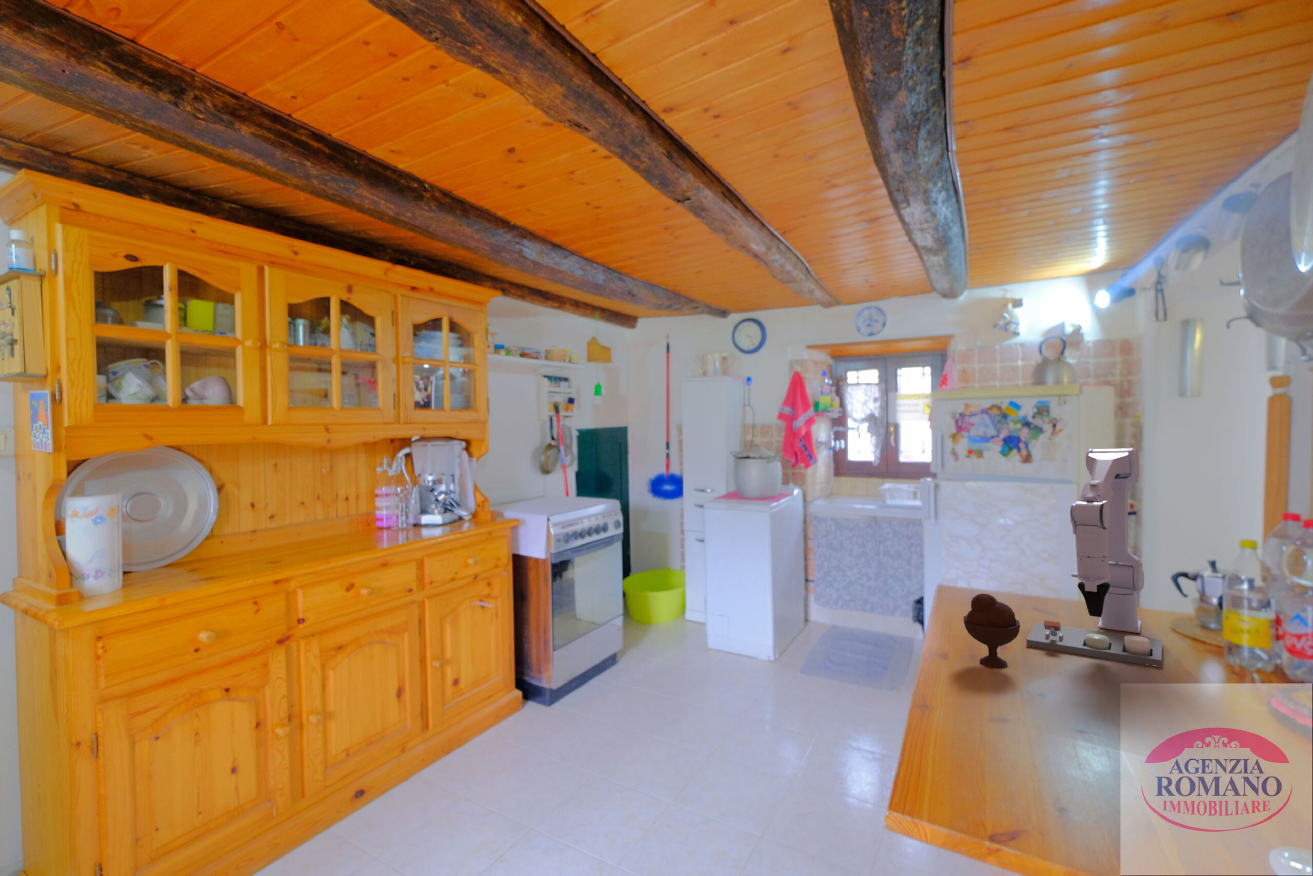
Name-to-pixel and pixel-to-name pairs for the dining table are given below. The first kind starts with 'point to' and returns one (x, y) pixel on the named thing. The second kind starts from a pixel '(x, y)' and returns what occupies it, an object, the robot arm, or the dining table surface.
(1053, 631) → the toggle lever
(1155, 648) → the panel
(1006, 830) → the dining table surface
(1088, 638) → the sage button
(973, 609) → the ice cream bowl
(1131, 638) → the pinkish beige button
